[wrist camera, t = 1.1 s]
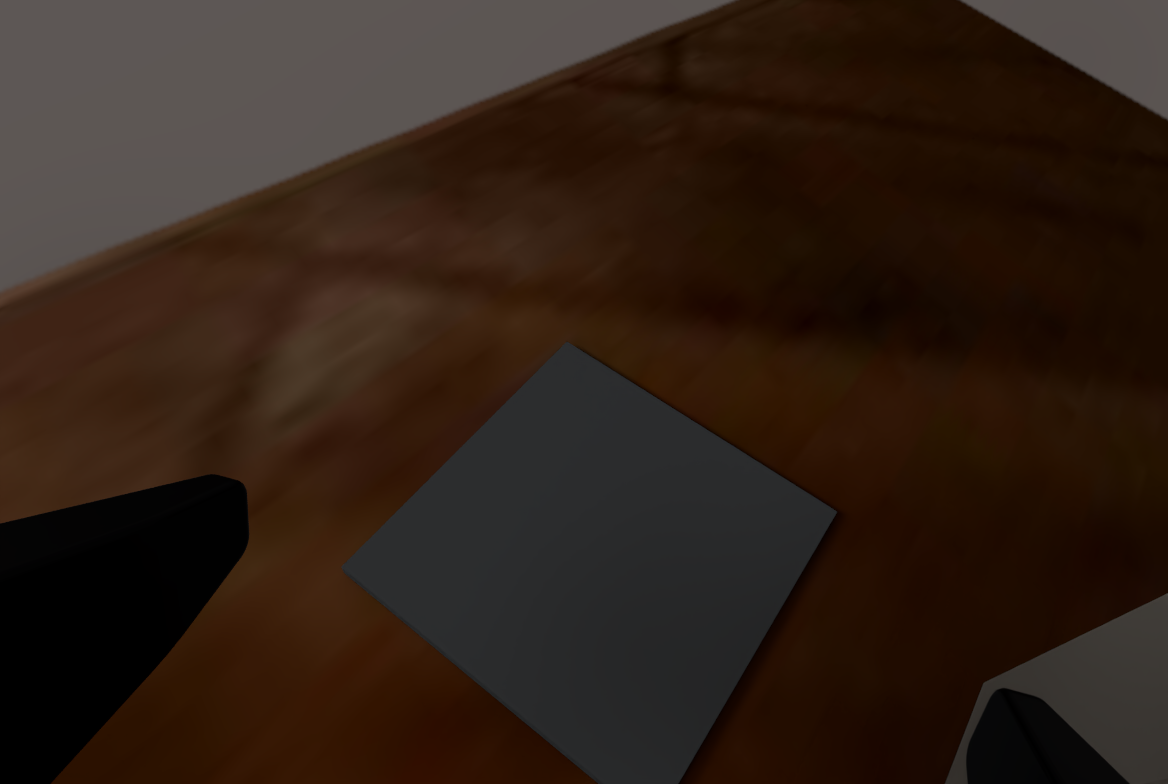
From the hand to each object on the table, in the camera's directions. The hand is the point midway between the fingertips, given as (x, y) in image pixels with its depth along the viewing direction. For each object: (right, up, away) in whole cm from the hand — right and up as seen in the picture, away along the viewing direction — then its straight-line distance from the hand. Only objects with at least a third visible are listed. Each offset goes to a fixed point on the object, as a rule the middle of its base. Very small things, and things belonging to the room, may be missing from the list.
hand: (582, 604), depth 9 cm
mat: (+1, -3, +17) cm, 17 cm away
